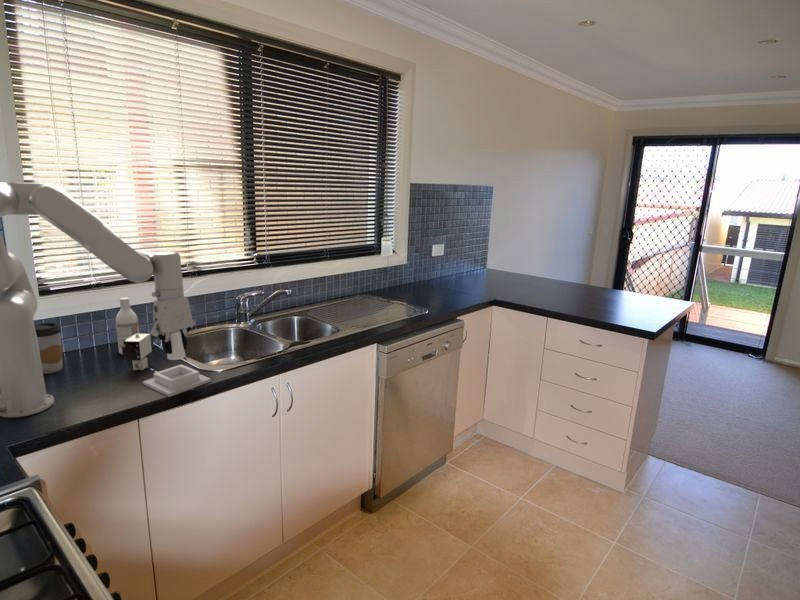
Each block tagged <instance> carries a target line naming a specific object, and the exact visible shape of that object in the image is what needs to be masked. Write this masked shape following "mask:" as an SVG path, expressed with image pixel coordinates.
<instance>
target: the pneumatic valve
mask: <svg viewBox="0 0 800 600" xmlns="http://www.w3.org/2000/svg"><path fill="white" fill-rule="evenodd" d="M123 344H124V347H122V353H123V354H122V357H124V360H125V361H131V362H132V367H133V368H132V369H133V371H138V370H139V371H144V370H145V369H147V368H148V367H149V365H148V357H147V356H148V355H149V354H151V353H152V352H153V344H154V338H153V337H152V335H150V332H149V333H148V332H147V333H146V332H139V333H136V334H135V335H133V336H132V337H128V338H126V340H125V341H124V342H123Z"/></svg>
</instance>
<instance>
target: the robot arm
mask: <svg viewBox="0 0 800 600" xmlns="http://www.w3.org/2000/svg"><path fill="white" fill-rule="evenodd" d="M7 215H8V216H9V215H11V216H12V215H19V216H20V215H22V216H23V215H25V216H26V215H27V216H29V215H31V216H39V217H40V218H43V220H45V221H47V222H48V223H50V224H51V225H52V226H54V227H55V228H57V229H58V230H60V231H61V232H63V234H65V235H66V236H68V237H70V238H71V239H72V240H74V241H75V242H77V243H78V244H79V245H81V247H83V248H84V249H86V250H87V251H88V252H89V253H91V254H92V255H93V256H95V257H96V258H97V259H99V260H100V261H101V262H102V263H104V264H105V265H106V266H108V267H109V268H111V270H113V271H114V272H116V273H117V274H119V275H120V276H121V277H123V278H125V279H126V280H128V281H130V282H133V283H136V284H137V283H138V284H141V283H146V282H147V281H149V280H150V279H151V278H152V276H153V280H154V288H155V289H154V291H153V292H151V296H152V297H153V298H154V297H155V298H154V301H153V307H152V308H153V313H152V317H153V326H152V328H151V330H150V332H149V333H150V335H151V336H153V337H155V338H157V339H159V340H160V341H162V349H163V352H164V353H165V354H167V353H168V354H172V346H171V341H169V336H170V332H174V331H178V330H180V332H181V336H182V342H183V347H184V350H187V349H188V348H187V347H188V346H187V345H188V341H187V340H188V339H187V337H188V336H189V332H190V331H191V330H192V329H191V328H193V327H194V326H195V325H196V322H195V321H194V319H193V315H192V310H191V306H190V305H191V304H190V302H189V299H188V296H187V295H186V294H185V292H184V283H183V281H184V280H183V272H182V271H183V270H182V260H181V255H180V253H179V252H177V251H174V250H161V251H157V252H154V251H153V252H152V251H141V250H140V251H137V250H135V249H134V248H133V247H132V246H130V245H128V244H127V243H126V242H125V241H124V240H122V239H121V238H120V237H119V236H118V235H117V234H116V233H115V232H114V231H113V229H111V228H110V226H109V225H108V224H107V223H106V222H105V221H104V220H103V219H102V218H100V217H99V216H97V215H96V214H95V213H93V212H92V211H91V210H89V209H88V208H86V207H85V206H84V205H83V204H81V203H79V202H78V200H76V199H75V198H73V197H72V196H70V194H69V192H68V191H67V190H66V189H65V188H63V187H62V186H60V185H59V184H55V183H48V182H47V183H43V182H42V183H34V182H33V183H32V182H13V181H12V182H11V181H9V182H8V181H7V182H6V181H0V218H2V217H5V216H7ZM37 309H38V301H37V297H36V294H35V292H34V289H33V287H32V284H31V281H30V279H29V276H28V272H26V269H25V266H24V264H23V263H22V261H21V259H20V258H19V257H18V256H16V255H15V254H14V253H12V252H10V251H8V250H7V247H6V245H5V242H4V238H3V237H2V234H1V233H0V417H3V418H10V419H12V418H22V417H28V416H32V415H35V414H38V413H41V412H43V411H45V410H47V409H49V408H50V407H52V405H53V404H54V403H55V398H54V396H53V395H51V394H48V393H47V390H46V383H45V379H44V374H43V371H42V364H41V358H40V352H39V346H38V340H37V335H36V331H35V327H34V325H35V321H34V320H35V319H34V316H35V314H36V312H37ZM159 331H160V333H159Z"/></svg>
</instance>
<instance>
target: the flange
mask: <svg viewBox="0 0 800 600" xmlns="http://www.w3.org/2000/svg"><path fill="white" fill-rule="evenodd" d="M211 380H212V379H211V378H210V377H209V376H208V377H207V376H205V375H203V374H201V373H200V371H199V370H196V369H194V368H192V367H189V366H186V365H185V364H184V365H183V364H178V365H175V366H172V367H169V368H165V369H164V370H160V371H156V372H154V373H153V377H152V378H149V379H145V380H143V381H142V385H144V386H146V387H147V388H149V389H152V390H153V391H156V392H158V393H160V394H163V396H167V397H169V398H171V397H172V396H176V395H179V394H180V393H185V392H186V391H189V390H191V389H194V388H196V387H200V386H202V385H206V384H208V383H210V382H211Z"/></svg>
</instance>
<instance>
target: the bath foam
mask: <svg viewBox="0 0 800 600" xmlns="http://www.w3.org/2000/svg"><path fill="white" fill-rule="evenodd" d="M130 303H131V302H130V297H127V296H125V297H119V305H120V309H119V311H118V313H117V315H116V317H115V328H116V335H117V336H116V337H117V343H118V344H117V347H118V353H119V354H120V355H123V353H122V347H124V344H123V342H124V341H125V340H126V338H128V337H132V336H133V335H135V334H136V333H140V327H139V319H138V318H139V317H138V316H137V314H136V313H135V311H133V309H132V308H131V304H130Z"/></svg>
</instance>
